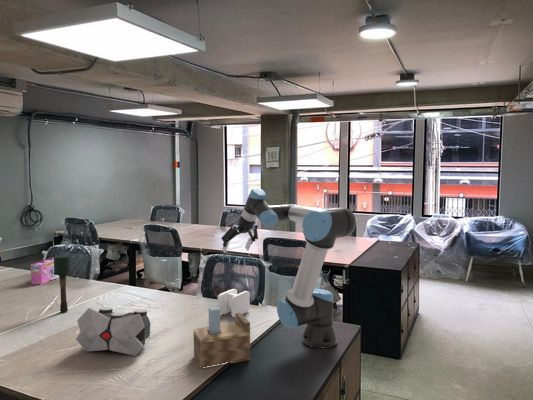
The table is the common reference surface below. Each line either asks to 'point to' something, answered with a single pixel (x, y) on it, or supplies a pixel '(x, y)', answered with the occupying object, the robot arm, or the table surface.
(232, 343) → the open wooden box
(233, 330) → the tan holed block
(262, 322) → the table surface
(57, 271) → the stick grenade
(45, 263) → the gum box
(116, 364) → the table surface
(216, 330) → the blue-gray rectangular block
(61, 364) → the table surface
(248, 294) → the cable organizer
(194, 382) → the table surface
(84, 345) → the electronic device
